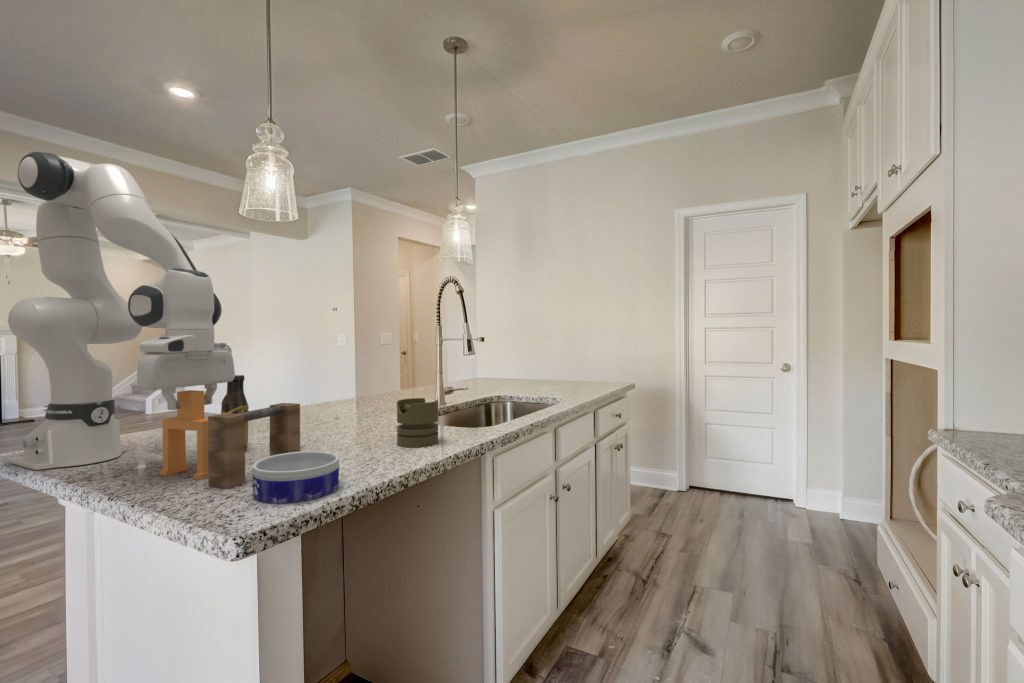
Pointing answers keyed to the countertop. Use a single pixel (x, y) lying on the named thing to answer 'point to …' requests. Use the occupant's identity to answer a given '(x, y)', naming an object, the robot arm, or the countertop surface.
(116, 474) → the countertop surface
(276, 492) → the dog bowl
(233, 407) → the sauce bottle
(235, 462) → the crossbar stand
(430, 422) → the piston
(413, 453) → the countertop surface
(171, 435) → the orange stepped block
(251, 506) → the countertop surface
